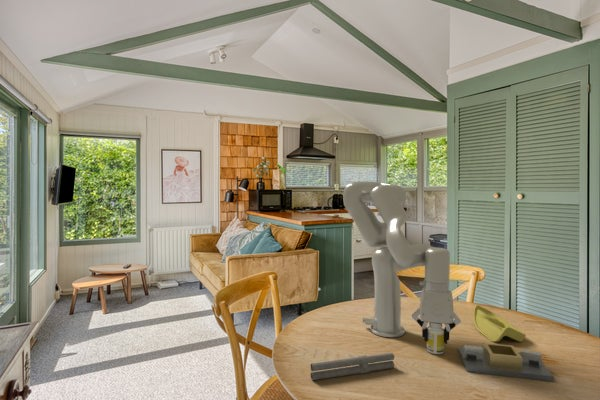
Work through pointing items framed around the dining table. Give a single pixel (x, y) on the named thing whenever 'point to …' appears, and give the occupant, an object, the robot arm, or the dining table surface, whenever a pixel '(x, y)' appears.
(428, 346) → the supplement bottle
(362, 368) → the metal rod assembly
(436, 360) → the dining table surface
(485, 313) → the plastic component
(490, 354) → the stand
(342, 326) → the dining table surface
